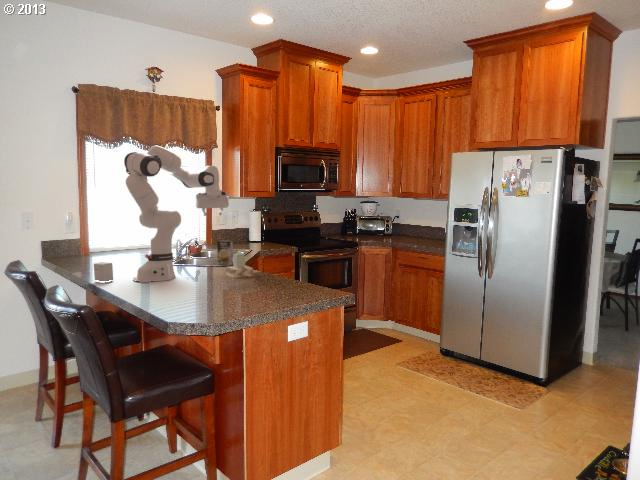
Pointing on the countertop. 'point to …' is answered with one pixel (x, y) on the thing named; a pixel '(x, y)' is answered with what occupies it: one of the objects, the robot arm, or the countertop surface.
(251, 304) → the countertop surface
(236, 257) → the green block
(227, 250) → the coffee box
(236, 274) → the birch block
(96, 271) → the small box
